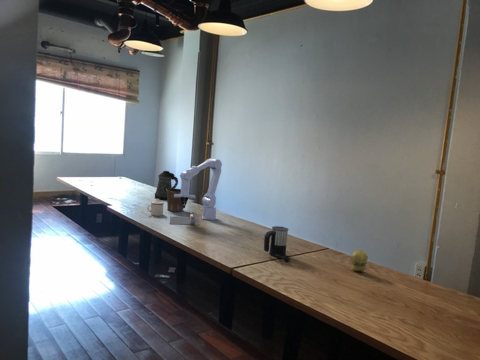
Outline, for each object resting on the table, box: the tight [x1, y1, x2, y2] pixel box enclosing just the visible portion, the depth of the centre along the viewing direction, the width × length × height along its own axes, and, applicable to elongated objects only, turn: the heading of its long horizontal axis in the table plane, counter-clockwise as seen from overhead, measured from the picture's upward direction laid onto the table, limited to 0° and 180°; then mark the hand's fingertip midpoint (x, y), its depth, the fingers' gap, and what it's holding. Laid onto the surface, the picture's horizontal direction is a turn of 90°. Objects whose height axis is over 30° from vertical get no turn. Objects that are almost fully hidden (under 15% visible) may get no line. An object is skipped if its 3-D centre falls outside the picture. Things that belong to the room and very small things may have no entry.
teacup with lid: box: [147, 199, 165, 217], centre depth 277 cm, size 12×9×12 cm
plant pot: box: [166, 188, 185, 213], centre depth 297 cm, size 16×16×16 cm
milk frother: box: [263, 225, 291, 262], centre depth 202 cm, size 14×16×15 cm
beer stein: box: [154, 170, 179, 201], centre depth 344 cm, size 16×19×25 cm
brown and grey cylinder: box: [190, 215, 195, 226], centre depth 256 cm, size 3×3×6 cm
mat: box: [169, 215, 201, 226], centre depth 266 cm, size 20×22×1 cm
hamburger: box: [350, 249, 369, 272], centre depth 188 cm, size 8×7×12 cm
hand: (183, 207), depth 263 cm, fingers closed
